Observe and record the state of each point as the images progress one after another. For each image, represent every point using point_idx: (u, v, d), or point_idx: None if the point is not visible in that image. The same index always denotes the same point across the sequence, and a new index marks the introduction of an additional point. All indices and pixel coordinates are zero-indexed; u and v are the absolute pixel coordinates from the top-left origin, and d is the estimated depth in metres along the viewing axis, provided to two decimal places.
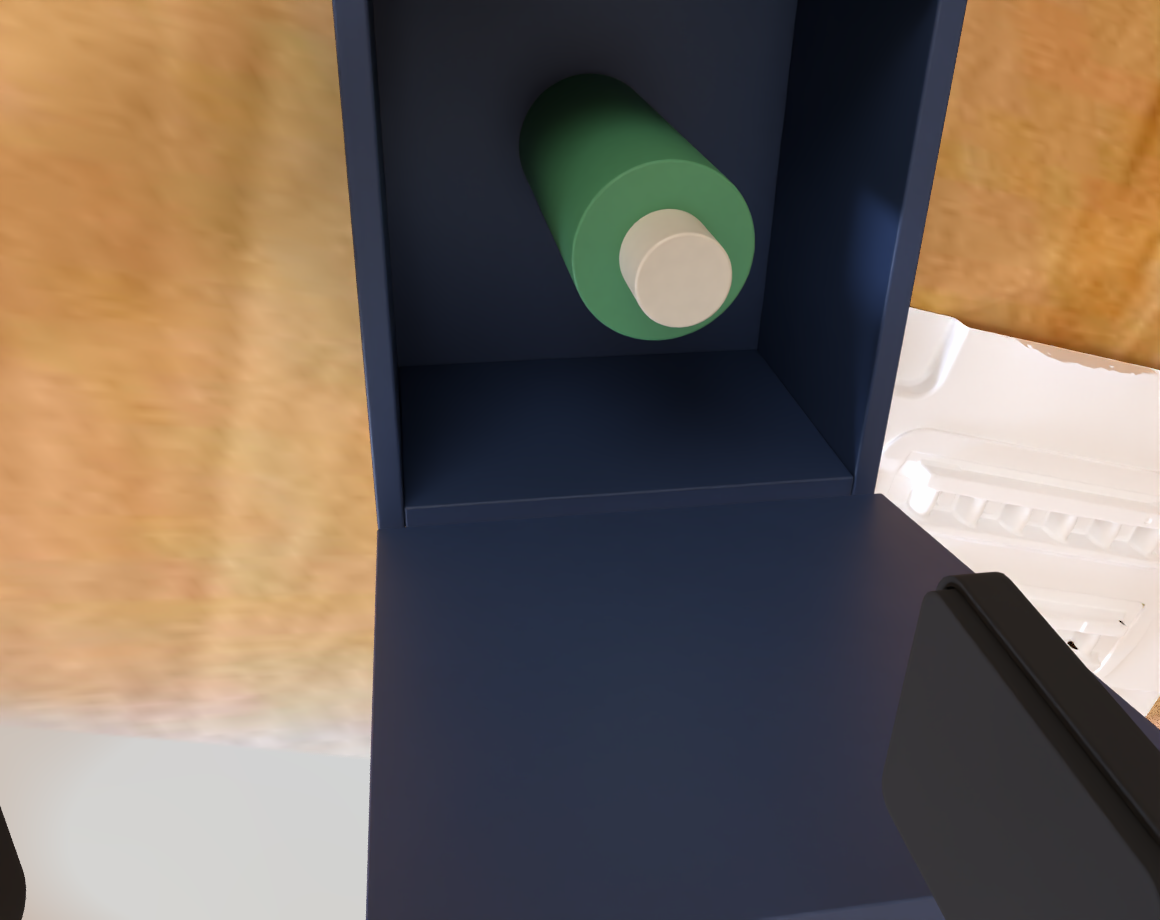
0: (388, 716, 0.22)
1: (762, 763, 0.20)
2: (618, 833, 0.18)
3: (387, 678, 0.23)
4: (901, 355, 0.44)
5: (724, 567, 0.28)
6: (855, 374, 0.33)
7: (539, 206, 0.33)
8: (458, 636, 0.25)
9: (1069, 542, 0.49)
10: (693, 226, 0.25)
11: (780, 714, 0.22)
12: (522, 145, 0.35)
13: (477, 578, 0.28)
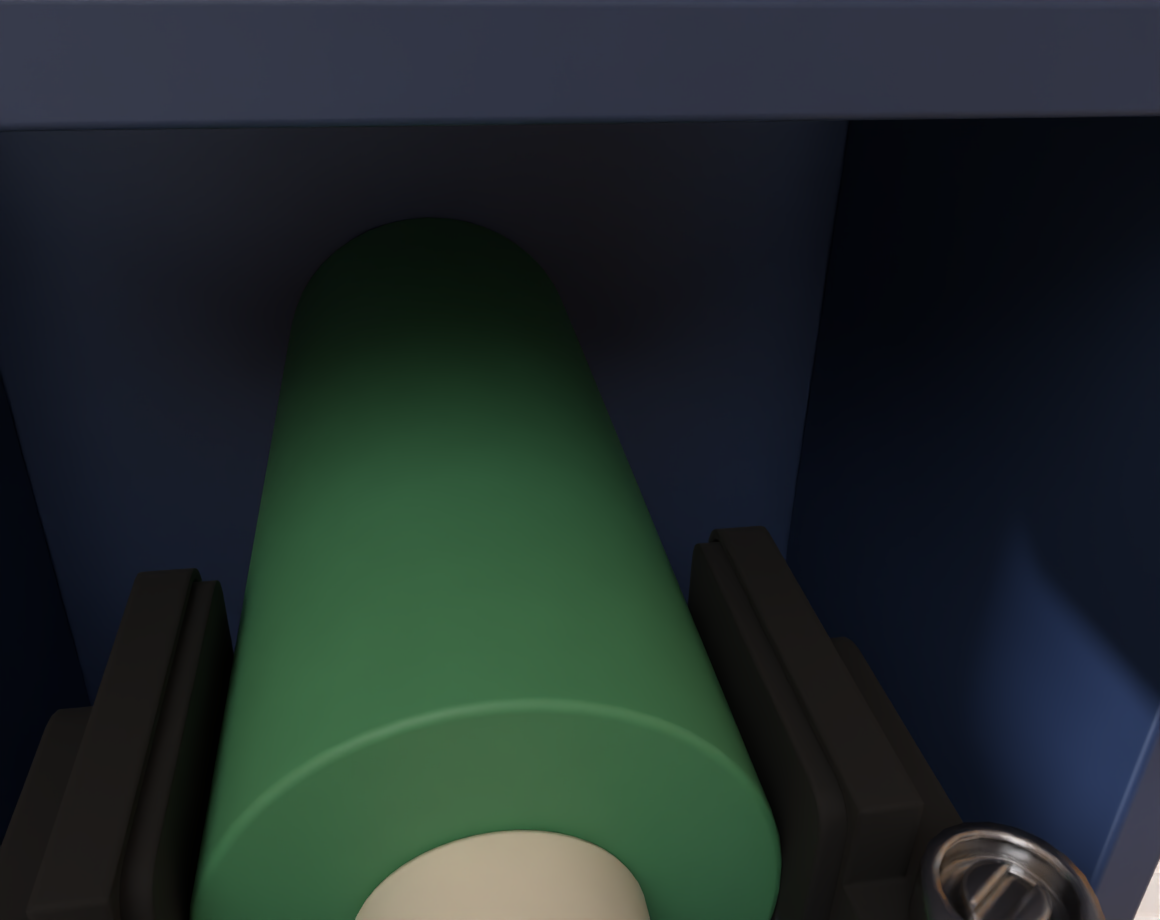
0: None
1: None
2: None
3: None
4: None
5: None
6: None
7: None
8: None
9: None
10: None
11: None
12: None
13: None
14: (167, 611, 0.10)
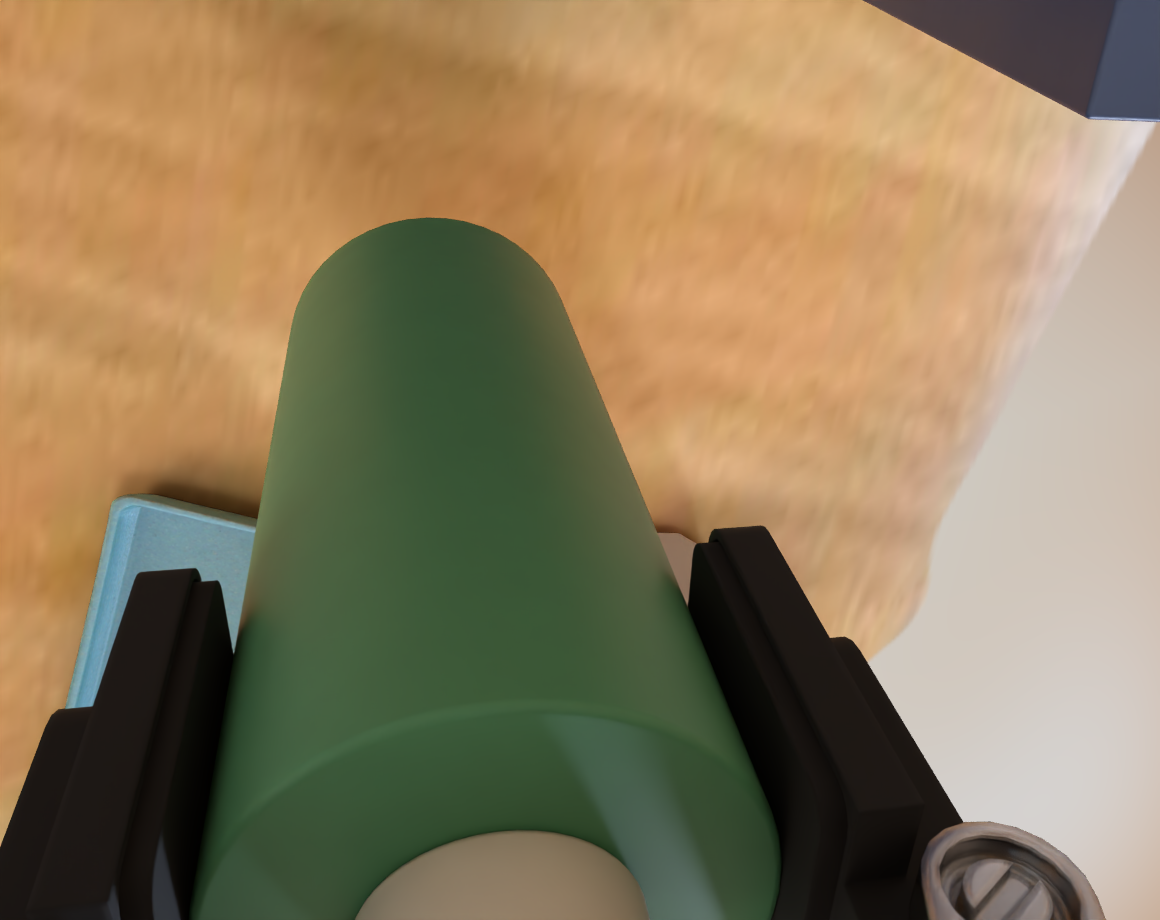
0: None
1: None
2: None
3: None
4: None
5: None
6: None
7: None
8: None
9: None
10: None
11: None
12: None
13: None
14: (167, 611, 0.10)
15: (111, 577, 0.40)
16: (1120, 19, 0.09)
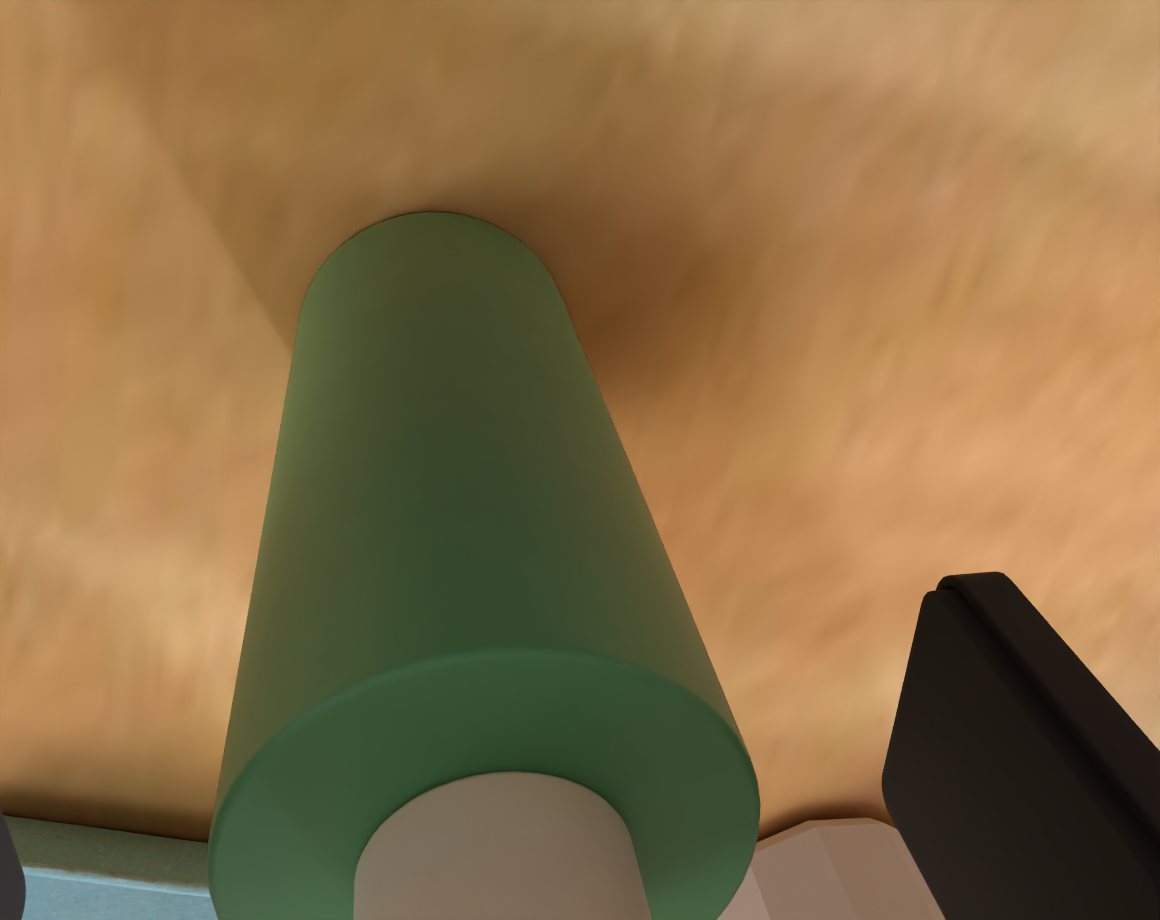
0: None
1: None
2: None
3: None
4: None
5: None
6: None
7: None
8: None
9: None
10: (553, 917, 0.07)
11: None
12: None
13: None
14: None
15: None
16: None
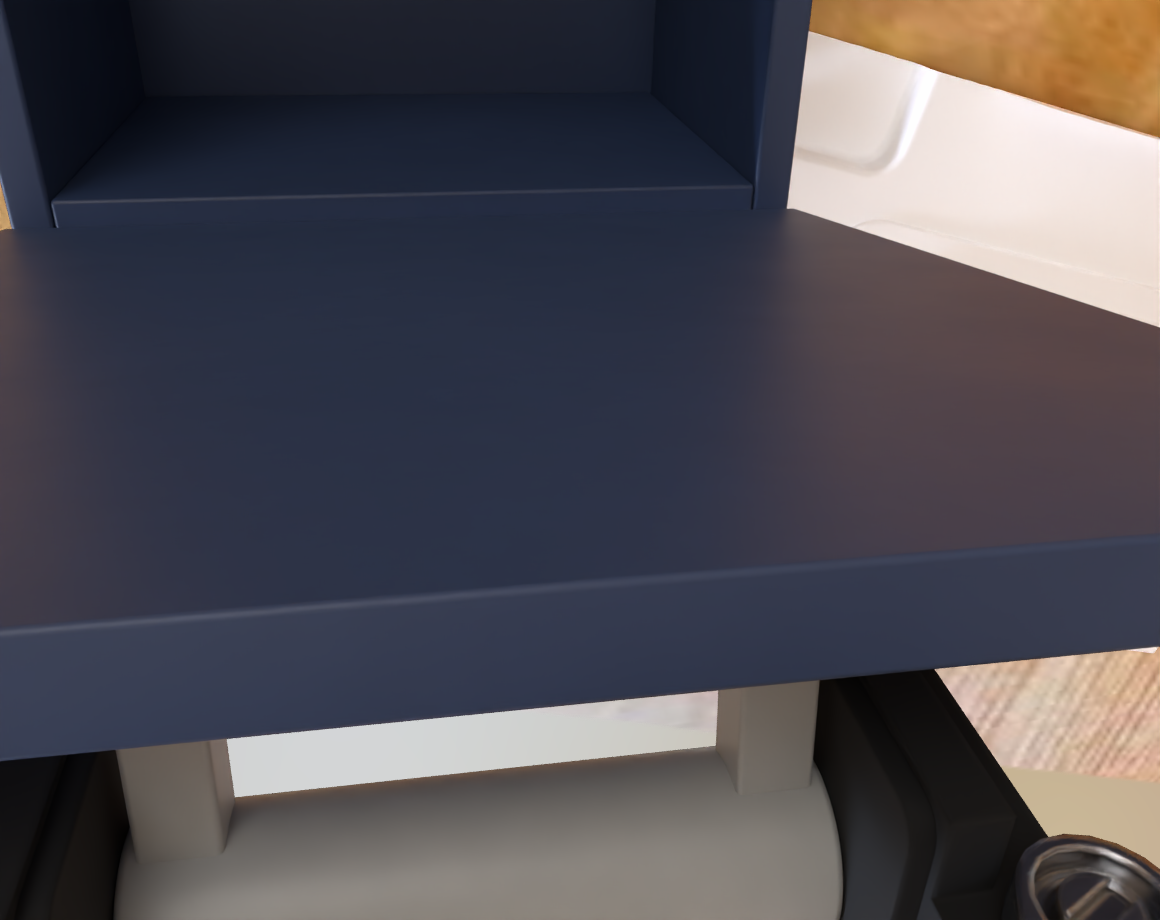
0: None
1: (415, 397, 0.09)
2: None
3: None
4: (849, 118, 0.33)
5: (514, 248, 0.17)
6: (753, 23, 0.22)
7: None
8: None
9: None
10: None
11: (500, 350, 0.11)
12: None
13: (98, 255, 0.17)
14: None
15: None
16: None
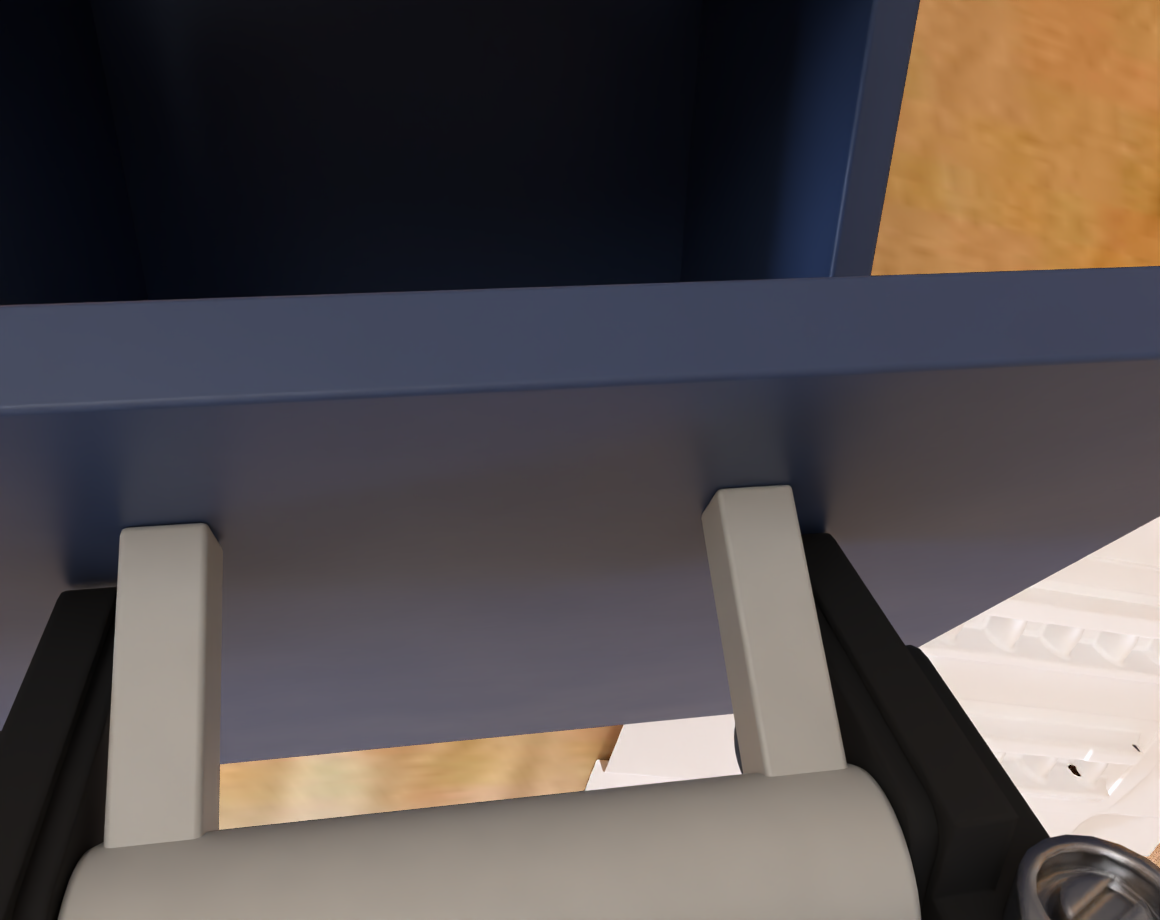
0: None
1: None
2: None
3: None
4: None
5: None
6: None
7: None
8: None
9: (1073, 657, 0.39)
10: None
11: None
12: None
13: None
14: (87, 632, 0.09)
15: None
16: None
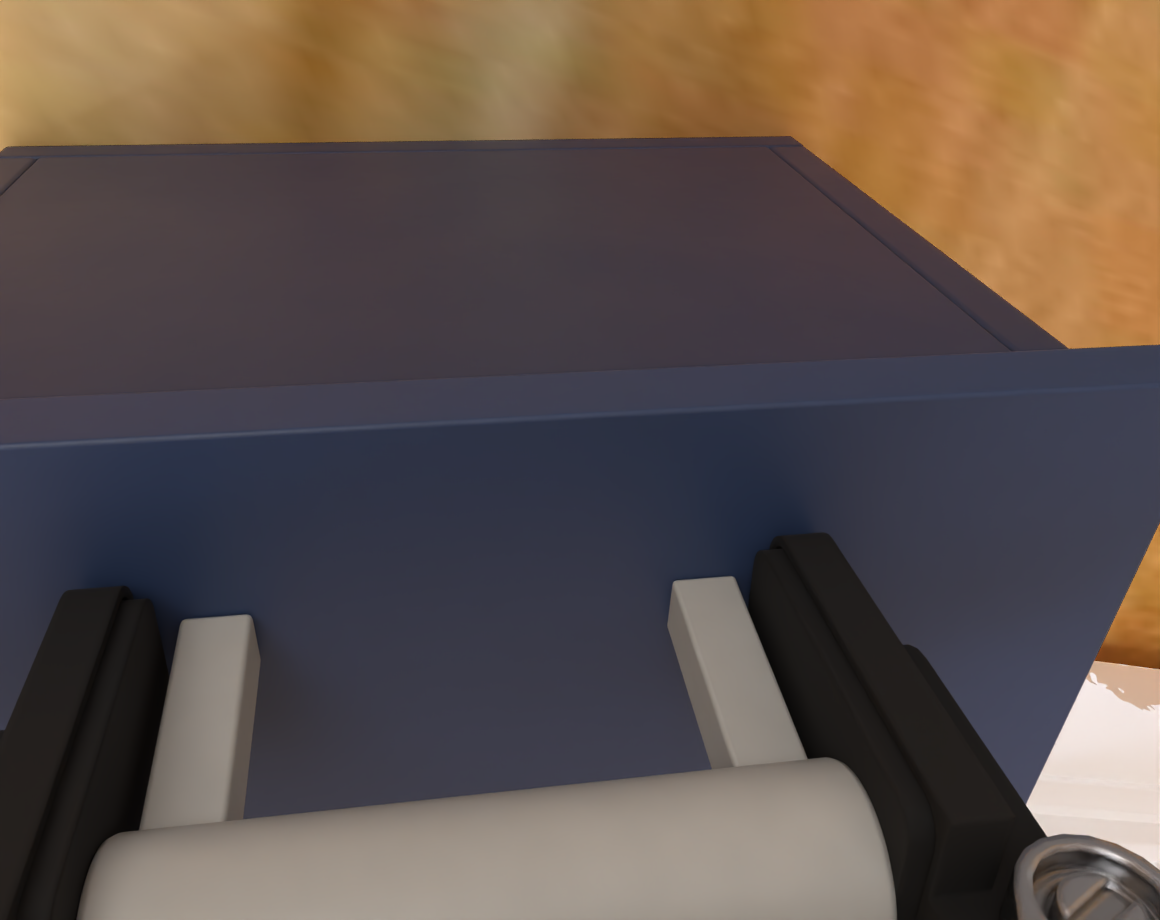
0: None
1: None
2: None
3: None
4: None
5: None
6: None
7: None
8: None
9: None
10: None
11: None
12: None
13: None
14: (91, 632, 0.09)
15: None
16: None
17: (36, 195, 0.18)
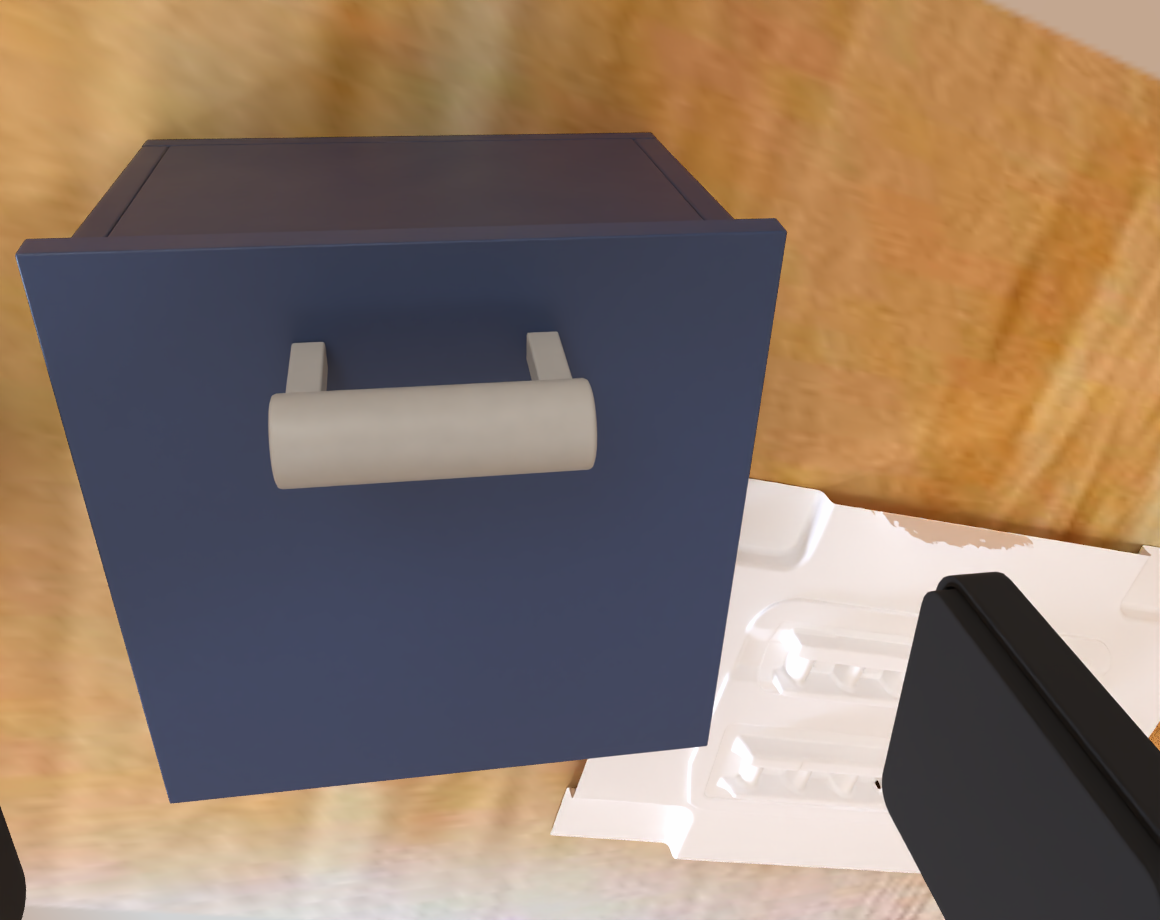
0: None
1: None
2: None
3: None
4: (769, 527, 0.43)
5: None
6: None
7: None
8: None
9: None
10: None
11: None
12: None
13: None
14: None
15: None
16: (68, 240, 0.21)
17: (177, 166, 0.29)
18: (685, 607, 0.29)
